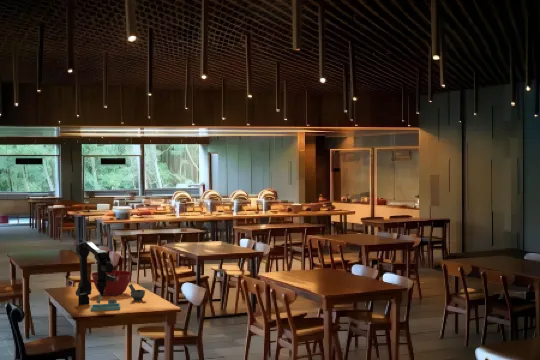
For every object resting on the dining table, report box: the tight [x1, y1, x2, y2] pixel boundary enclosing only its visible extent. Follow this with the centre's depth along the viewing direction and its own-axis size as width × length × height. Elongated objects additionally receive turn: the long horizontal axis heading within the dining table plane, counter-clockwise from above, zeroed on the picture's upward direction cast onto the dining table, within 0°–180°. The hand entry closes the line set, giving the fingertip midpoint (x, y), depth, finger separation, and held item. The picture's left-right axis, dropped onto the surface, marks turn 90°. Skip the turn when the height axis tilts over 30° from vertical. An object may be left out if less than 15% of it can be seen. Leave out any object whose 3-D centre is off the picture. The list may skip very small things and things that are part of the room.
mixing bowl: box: [90, 270, 133, 297], centre depth 508 cm, size 28×28×16 cm
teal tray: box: [90, 302, 121, 312], centre depth 454 cm, size 18×12×2 cm, turn 102°
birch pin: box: [95, 292, 103, 304], centre depth 453 cm, size 5×2×9 cm, turn 102°
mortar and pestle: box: [128, 283, 146, 302], centre depth 481 cm, size 11×9×12 cm
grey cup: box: [107, 298, 118, 304], centre depth 464 cm, size 5×5×4 cm
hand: (102, 295), depth 453 cm, fingers closed on birch pin, 2 cm apart
